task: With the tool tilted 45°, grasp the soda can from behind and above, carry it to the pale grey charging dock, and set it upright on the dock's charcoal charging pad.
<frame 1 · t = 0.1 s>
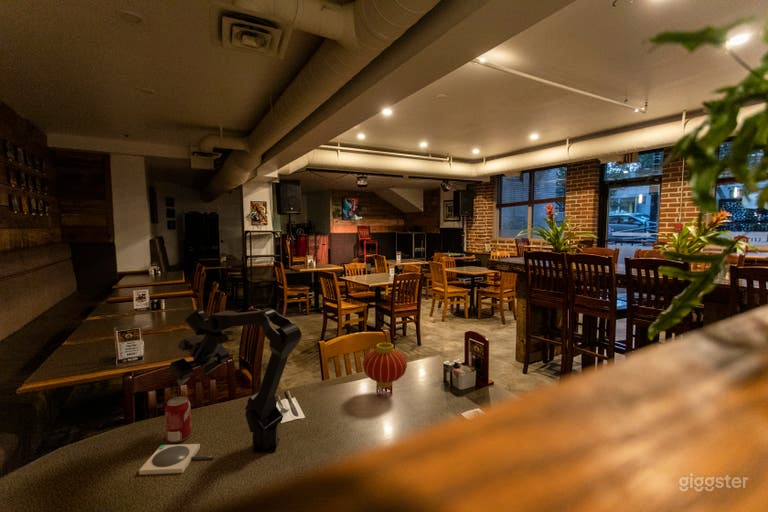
hand: (192, 379, 120), 15 cm above the table, tool tilted 35°, fingers open, 9 cm apart
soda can: (179, 438, 113), on the table
charging dock: (171, 460, 102), on the table
lantern: (384, 395, 143), on the table
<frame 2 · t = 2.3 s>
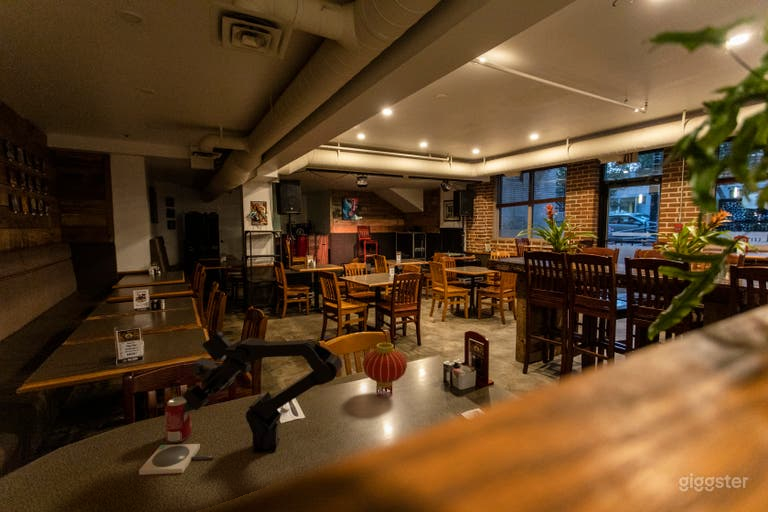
hand: (193, 403, 111), 12 cm above the table, tool tilted 45°, fingers open, 9 cm apart
nothing on the table moved.
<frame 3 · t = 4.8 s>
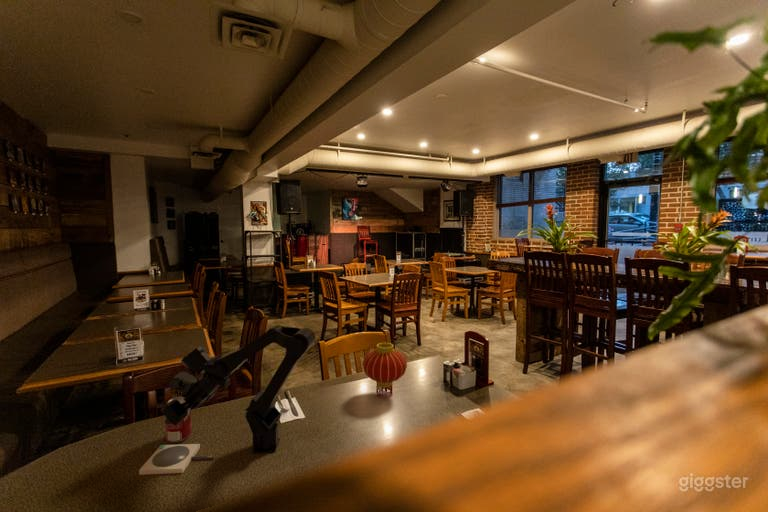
hand: (174, 417, 112), 7 cm above the table, tool tilted 45°, fingers closed on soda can, 7 cm apart
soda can: (179, 438, 113), on the table, touching gripper
everything else where it was.
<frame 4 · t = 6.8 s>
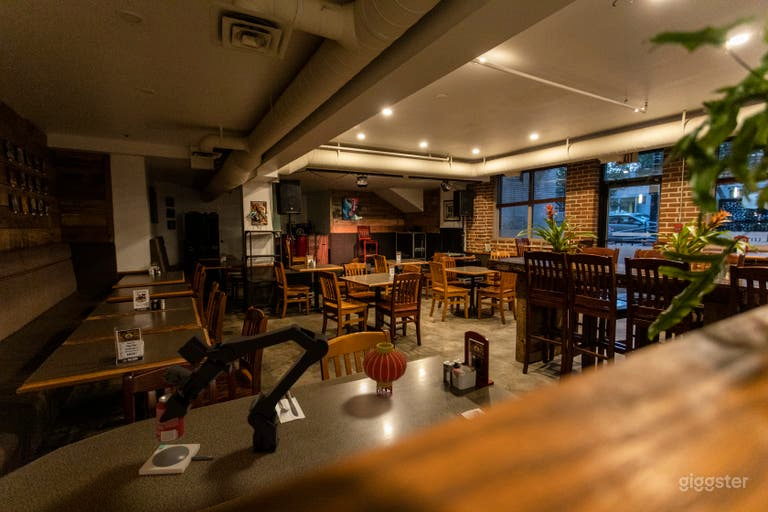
hand: (165, 415, 103), 12 cm above the table, tool tilted 45°, fingers closed on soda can, 7 cm apart
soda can: (170, 440, 103), point 5 cm above the table, touching gripper
everything else where it was.
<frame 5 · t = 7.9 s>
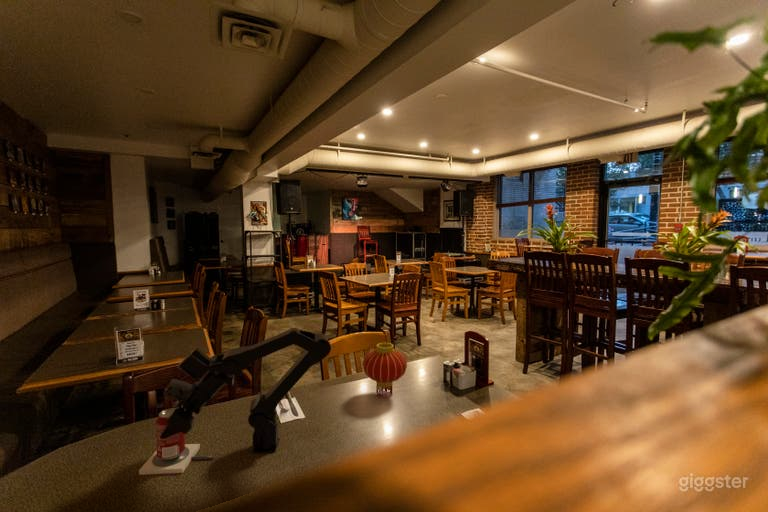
hand: (165, 430, 101), 9 cm above the table, tool tilted 45°, fingers closed on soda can, 7 cm apart
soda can: (171, 455, 101), point 2 cm above the table, touching gripper
everything else where it was.
when the fingers open (9 cm above the table, at t = 8.8 s): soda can stays where it is, resting on charging dock.
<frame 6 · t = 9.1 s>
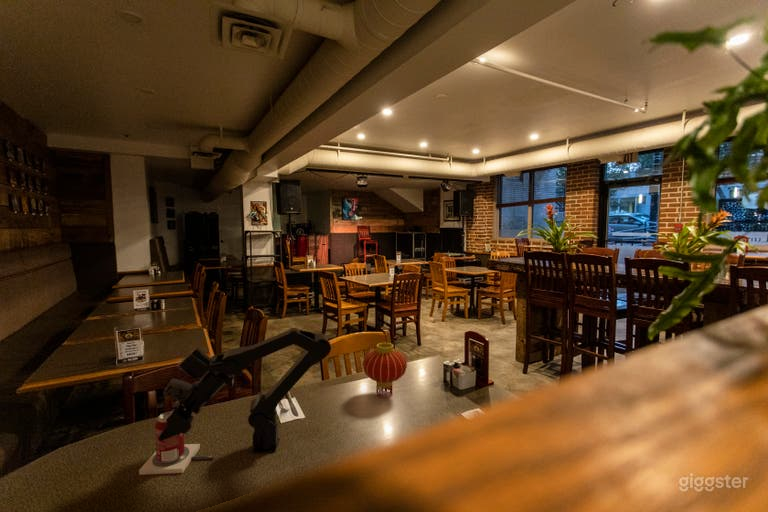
hand: (164, 430, 101), 9 cm above the table, tool tilted 45°, fingers open, 9 cm apart
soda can: (170, 457, 101), point 1 cm above the table, touching charging dock
everything else where it was.
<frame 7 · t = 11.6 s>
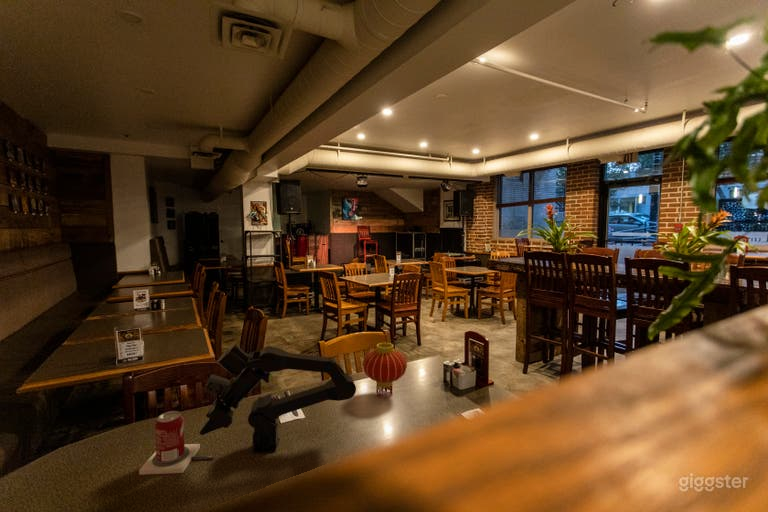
hand: (204, 424, 104), 9 cm above the table, tool tilted 45°, fingers open, 9 cm apart
nothing on the table moved.
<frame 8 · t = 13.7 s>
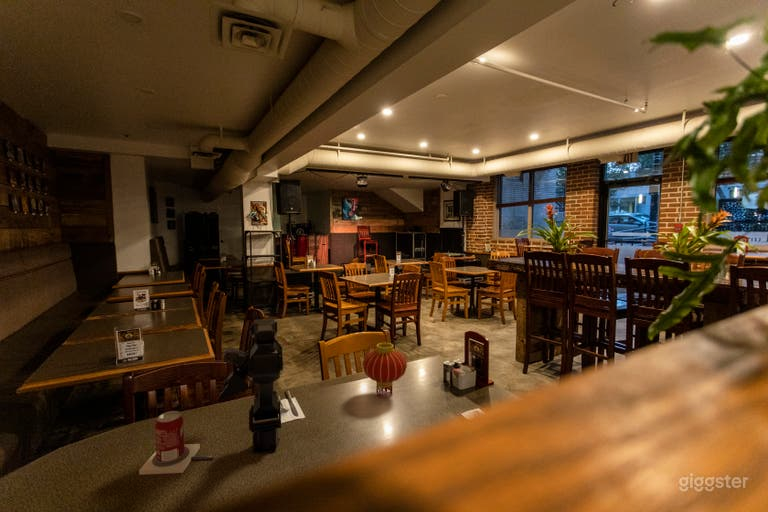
hand: (221, 392, 114), 14 cm above the table, tool tilted 45°, fingers open, 9 cm apart
nothing on the table moved.
at the end: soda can 0.8 cm off-centre on the charging dock, point 1.2 cm above the charging dock's base; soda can tilted 0°; the gripper is holding nothing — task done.
